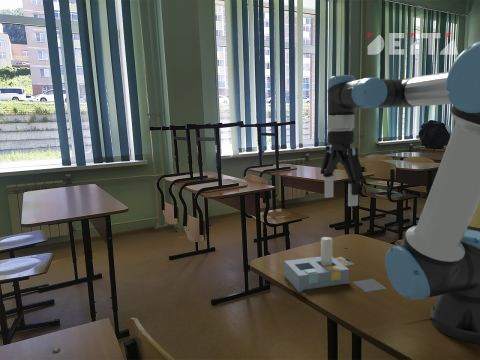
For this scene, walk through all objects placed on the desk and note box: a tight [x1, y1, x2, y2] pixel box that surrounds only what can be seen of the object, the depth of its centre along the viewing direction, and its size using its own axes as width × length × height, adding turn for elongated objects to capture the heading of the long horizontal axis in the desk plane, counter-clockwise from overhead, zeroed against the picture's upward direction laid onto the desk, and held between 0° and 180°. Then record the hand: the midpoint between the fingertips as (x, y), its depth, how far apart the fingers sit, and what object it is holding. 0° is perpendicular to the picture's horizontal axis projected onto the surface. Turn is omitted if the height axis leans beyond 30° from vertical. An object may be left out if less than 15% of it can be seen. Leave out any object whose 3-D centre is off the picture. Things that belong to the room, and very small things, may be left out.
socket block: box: [283, 255, 350, 293], centre depth 117 cm, size 12×16×5 cm
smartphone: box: [333, 255, 356, 267], centre depth 129 cm, size 8×15×1 cm, turn 107°
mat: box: [352, 278, 388, 293], centre depth 112 cm, size 7×7×1 cm
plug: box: [320, 236, 333, 267], centre depth 117 cm, size 3×3×12 cm
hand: (340, 201), depth 114 cm, fingers open, 13 cm apart
